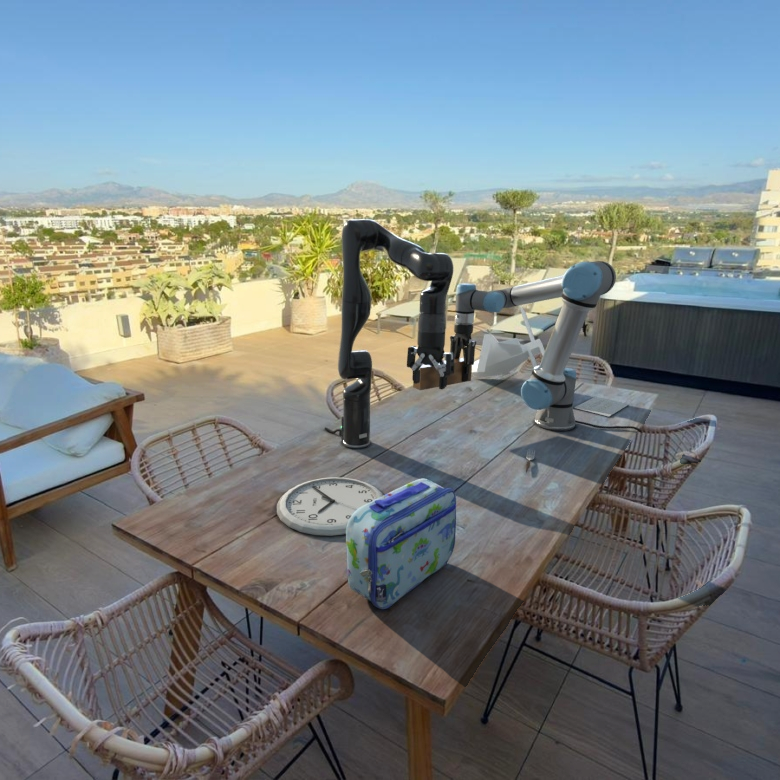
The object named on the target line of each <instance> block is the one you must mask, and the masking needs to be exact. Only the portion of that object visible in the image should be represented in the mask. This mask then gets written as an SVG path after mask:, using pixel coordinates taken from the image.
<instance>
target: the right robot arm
mask: <svg viewBox="0 0 780 780" xmlns="http://www.w3.org/2000/svg"><path fill="white" fill-rule="evenodd" d="M616 282H617V274H616V270H615V268H614V267H613V266H612V265H611V264H610V263H608V262H607V261H604V260H603V261H602V260H594V261H580V262H577V263H575V264H573V265H571V266H570V267H569V268H567V270H566V271H565V272H564V274H563V275H560V276H559V275H558V276H554V277H550V278H546V279H542V280H538V281H533V282H528V283H524V284H520V285H515V286H512V287H506V288H502V289H495V290H478V289H477V285H476V284H474V283H464V282H463V283H458V284H457V286H456V292H455V310H454V326H453V332H454V335H450V336H449V340H450V348H449V353H452V352H453V353H454V359H458V358H461V353H462V358H464V365H463V370H462V381H467V382H469V381H468V374H469V370H470V365H474V362H475V356H476V355H475V354H476V346H477V341H476V340H473V339H472V334H473V333H474V322H475V311H480V312H487V313H500V312H501V310H503V309H510V308H513V307H518V306H522V305H528V304H533V303H539V302H545V301H549V300H553V299H559V298H561V301H562V302H563V303H562V306H561V309H560V312H559V313H558V317H557V319H556V322H555V324H554V327H553V329H552V332H551V334H550V337H549V340H548V342H547V345H546V347H545V349H544V350H545V352H544V355H543V357H542V358H541V360H540V363H539V364H537V366H536V367H534V368H532V371H531V374H530V377H529V378H528V379H527V380H525V381H524V382H523V384H522V385H521V387H520V397H521V399H522V401H523V402H524V404H525V405H526V407H529V408H530V409H532V410H537V411H536V413H535V416H534V424H535V425H536V426H537V427H539V428H542V429H544V430H549V431H556V432H567V431H572V430H574V429H575V428H576V424H580V425H584V426H589V427H591V428H592V427H593V428H597V429H608V430H609V429H611V430H612V429H632V430H636V431H637V432H639V433H640V434H641V433H642V434H643V431H642V429H640V428H639V427H637V426H633V425H622V426H621V425H613V426H609V425H608V426H607V425H597V424H593V423H589V422H584V421H580V420H577V419H576V418H575V417H576V416H575V413H574V407H573V405H574V398H575V391H576V383H577V372H576V370H575V369H573V368H571V367H567V365H568V363H569V360H570V357H571V356H572V353H573V350H574V348H575V346H576V343H577V340H578V338H579V336H580V333H581V331H582V329H583V326H584V324H585V322H586V319H587V316H588V314H589V312H590V311H592V310H594V309H596V307H597V305H598V303H599V300H600V298H601V296H603V295H606V294H608V293H609V292H610V291H611V290H612V289H613V288H614V286H615V285H616Z"/></svg>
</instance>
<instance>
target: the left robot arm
mask: <svg viewBox="0 0 780 780" xmlns="http://www.w3.org/2000/svg"><path fill="white" fill-rule="evenodd" d="M370 251H378V252H383V253H385V254H386V256H387V258H388V259H389V260H390V262H392V263H394V264H395V265H397V266H399V267H401V268H403V269H405V270H408V272H410V274H411V275H413V276H414V277H415V278H416V279H418V280H420V281H423V282H430V285H429V287H428V288H426V289H424V290H422V291H421V292H420V295H419V309H418V310H419V313H418V319H417V342H416V343H417V346H416V345H412V346H408V347H407V355H406V367H407V368H410V369H411V370H412V375H411V376H412V377H411V378H412V379H411V380H412V382H413V381H414V383H415V384H417V383H419V382H420V370H419V369H420V367H421V366H422V365H423V364H424V365H430V366H434V367H435V368H436V370H438V372H439V374H440V375H441V376H440V380H439V387H438V389H439V390H444V389H446V388H447V386H448V385H447V376H449V375H451V374H454V353H453V352H452V353H450V352H445V345H446V329H447V317H446V307H447V306H446V305H447V295H448V293H449V289H450V286H451V283H452V279H453V276H454V263H453V262H454V261H453V260H452V258H451V255H449V254H448V253H444V252H435V253H434V252H433V253H432V252H431V253H427V252H426V251H425V249H424V248H423V247H421V246H420V245H418V244H416V243H413V242H411V241H408V240H406V239H403V238H401V237H400V236H397V235H396V234H394V233H393V232H391V231H390V230H388V229H387V228H385V227H384V226H383V225H381V224H380V223H378V222H377V221H376V220H373V219H368V218H365V219H349V220H347V221H345V222H344V225H343V226H342V230H341V254H342V293H341V322H340V323H341V326H340V327H341V328H340V331H341V332H340V340H339V348H338V349H339V350H338V358H337V371H338V375H339V378H341V379H342V380H355V379H356V380H355V381H354V382H353V383H351V384H350V385H347V386H345V388H344V389H343V391H342V406H343V407H342V411H343V416H342V417H341V419H340V420H341V421H340V422H341V426H340V428H336V429H334V430H332V429H330V428H328V427H326V426H325V427H324V430H325V431H327V432H328V433H330V434H336V433H338V436H340V437H341V443H343V446H344V447H346V448H348V449H357V450H358V449H364V448H367V447H369V446H370V445H371V391H372V376H373V375H372V374H373V360H372V355H371V353H370V352H369V351H368V350H364V349H363V350H353V347H354V343H355V341H356V339H357V337H358V335H359V334H360V332H361V331H362V330H363V328H364V326H365V325H366V324H367V322H368V320H369V318H370V316H371V309H372V292H371V289H370V287H369V285H368V283H367V281H366V279H365V277H364V275H363V272H362V270H361V252H370ZM416 355H417V356H418V358H417V359H416ZM443 359H444V360H443ZM445 360H446V365H445V363H444V361H445ZM439 363H440V365H439ZM445 366H446V367H445Z"/></svg>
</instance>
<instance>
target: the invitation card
mask: <svg viewBox="0 0 780 780" xmlns="http://www.w3.org/2000/svg"><path fill="white" fill-rule="evenodd" d="M628 406H629V404H627V403H623V402H618V401H614V400H609V399H605V398H601V397H596V396H593V397H592V398H590V399H588V400H586V401H584V402H582V403H580V404H578V405H575V406H574V407H573V409H575V410H581V411H584V412H587V413H593V414H596V415H600V416H604V417H608V418H609V417H611V416H613V415H614V414H616V413H617V412H619V411H621V410H623V409H624V408H626V407H628Z"/></svg>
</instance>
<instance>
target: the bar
mask: <svg viewBox="0 0 780 780" xmlns="http://www.w3.org/2000/svg"><path fill="white" fill-rule="evenodd" d="M443 361H444V363H445V365H446V360H445V359H444V360H443ZM439 365H440V363H439ZM463 365H464V357H460V358H458V359H454V374H451V375H449V376H447V386H451V385H456V384H462V383H467V382H472V365H470V370H469V374H468V381H462V370H463ZM445 367H446V366H445ZM419 370H420V382H419V383H417V384H415V383H414V381H413V380H412V382H413V383H412V388H414V389H417V390H419V391H424V390H429V389H434V388H435V389H436V388H439V380H440V376H441V375H440V374H439V372H438V370H436V368H435V367H434V366H430V365H424V364H423V365H422V366H421V367H420V369H419Z"/></svg>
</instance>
